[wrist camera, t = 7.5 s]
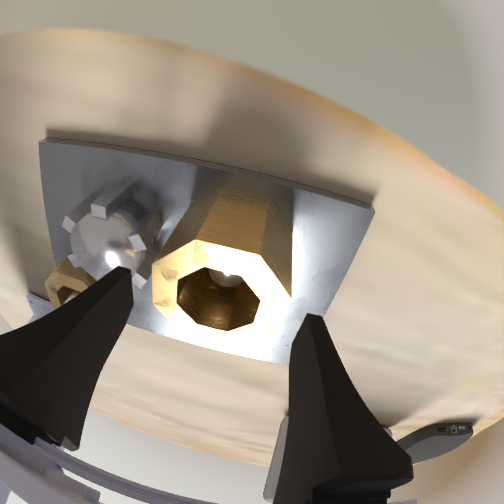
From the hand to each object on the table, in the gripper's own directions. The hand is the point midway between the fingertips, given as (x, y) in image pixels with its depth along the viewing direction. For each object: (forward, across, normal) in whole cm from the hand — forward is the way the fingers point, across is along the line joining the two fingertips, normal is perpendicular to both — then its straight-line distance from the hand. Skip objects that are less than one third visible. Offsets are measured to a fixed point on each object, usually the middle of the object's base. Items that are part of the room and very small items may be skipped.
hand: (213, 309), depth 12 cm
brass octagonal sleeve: (+5, 0, 0) cm, 5 cm away
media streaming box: (+7, -37, +30) cm, 48 cm away
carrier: (+6, +3, +3) cm, 8 cm away
